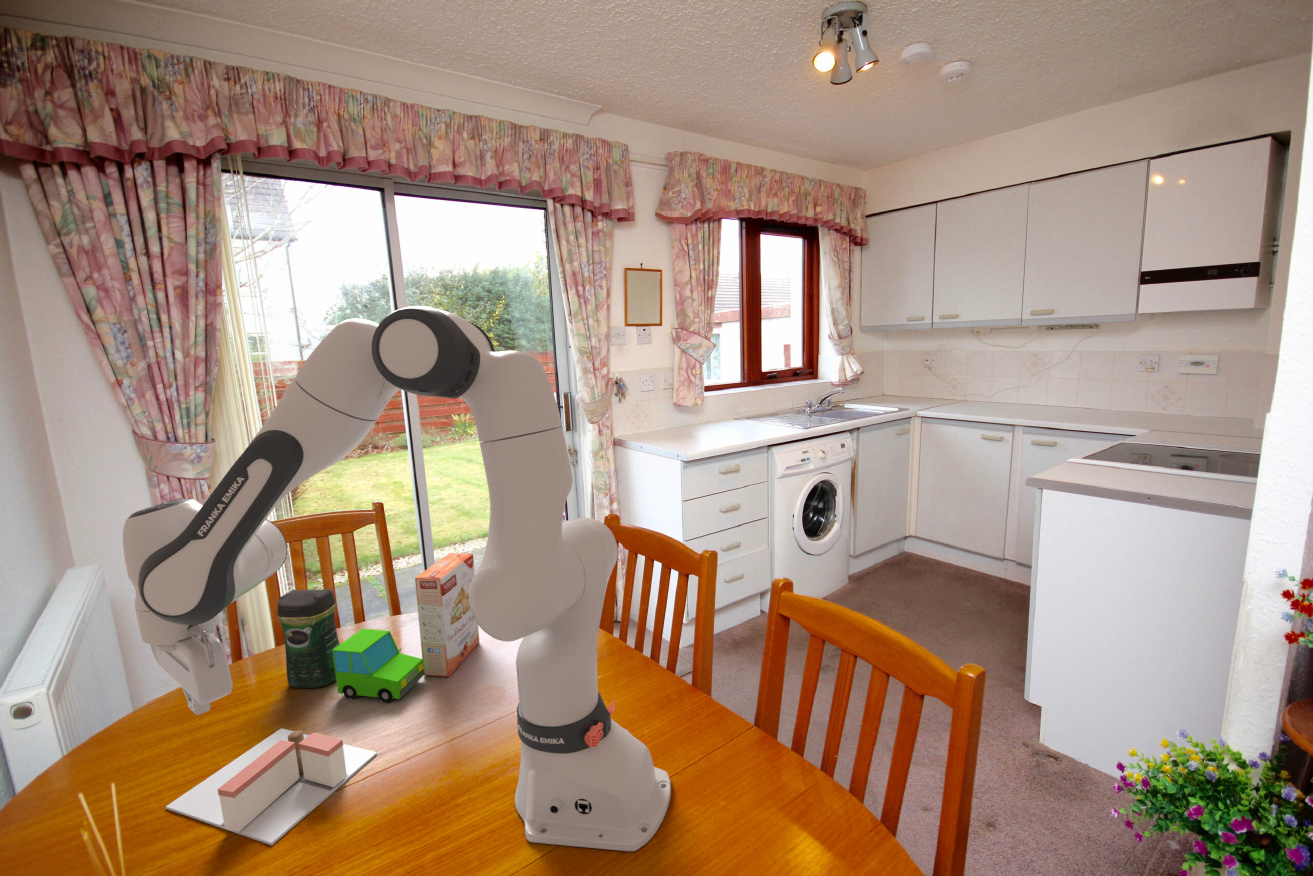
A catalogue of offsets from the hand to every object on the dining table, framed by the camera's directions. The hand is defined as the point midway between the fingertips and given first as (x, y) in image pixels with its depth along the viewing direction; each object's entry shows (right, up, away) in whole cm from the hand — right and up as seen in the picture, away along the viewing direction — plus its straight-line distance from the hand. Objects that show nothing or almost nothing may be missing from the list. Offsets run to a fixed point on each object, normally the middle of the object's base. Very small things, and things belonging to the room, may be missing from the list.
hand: (200, 709), depth 82 cm
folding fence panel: (+8, -14, +2) cm, 16 cm away
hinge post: (+9, -14, +8) cm, 19 cm away
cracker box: (+22, -8, +40) cm, 47 cm away
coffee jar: (-4, -10, +35) cm, 36 cm away
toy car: (+12, -10, +30) cm, 34 cm away
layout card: (+6, -14, +7) cm, 17 cm away
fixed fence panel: (+14, -14, +6) cm, 21 cm away
